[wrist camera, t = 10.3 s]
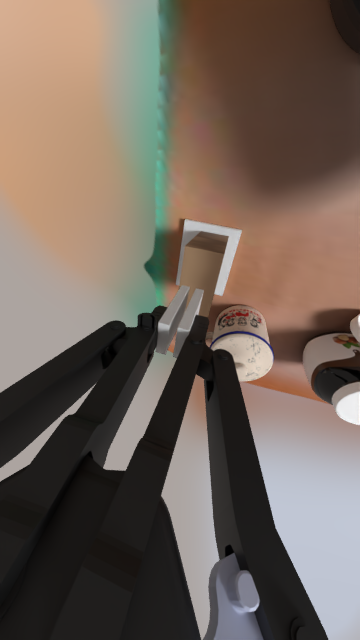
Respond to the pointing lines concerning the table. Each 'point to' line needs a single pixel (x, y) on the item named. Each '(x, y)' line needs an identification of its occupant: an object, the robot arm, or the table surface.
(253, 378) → the teacup with lid
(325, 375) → the spread jar
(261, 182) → the table surface
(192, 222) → the grey board
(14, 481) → the robot arm
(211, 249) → the walnut slab
